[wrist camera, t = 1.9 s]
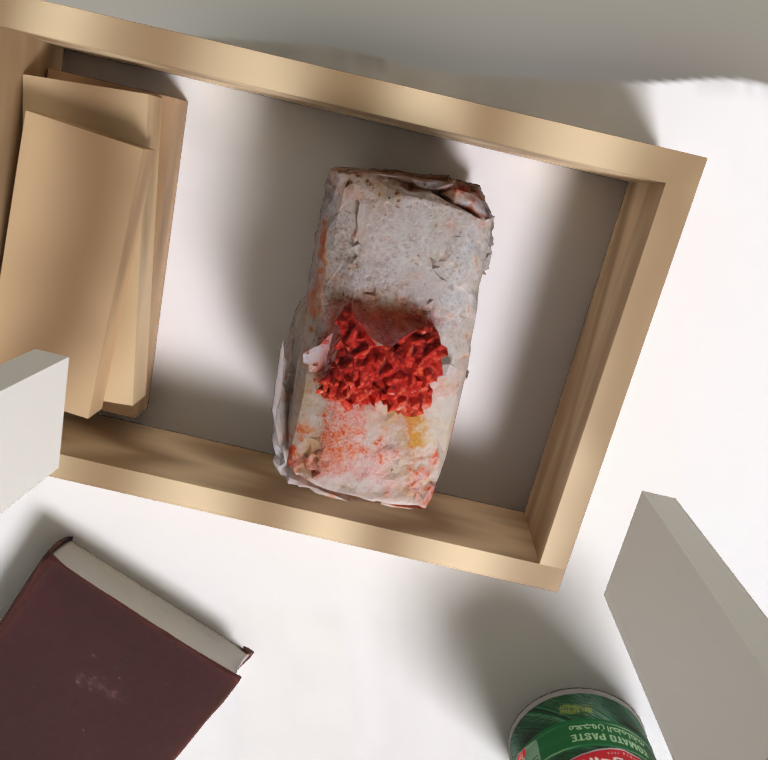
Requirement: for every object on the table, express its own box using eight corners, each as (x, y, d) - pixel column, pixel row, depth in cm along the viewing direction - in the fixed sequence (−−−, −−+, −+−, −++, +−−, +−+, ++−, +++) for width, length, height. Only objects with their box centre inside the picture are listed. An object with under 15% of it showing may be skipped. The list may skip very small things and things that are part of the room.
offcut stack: (36, 382, 36) (-19, 411, 31) (61, 72, 31) (2, 55, 27) (154, 409, 36) (116, 442, 31) (195, 103, 31) (158, 91, 27)
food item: (442, 455, 36) (449, 555, 26) (289, 430, 36) (241, 522, 26) (493, 182, 32) (523, 184, 22) (321, 155, 32) (279, 146, 22)
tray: (11, 416, 36) (-52, 452, 31) (39, 13, 31) (-32, -18, 26) (539, 537, 37) (557, 592, 32) (663, 160, 31) (707, 158, 26)
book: (-77, 744, 43) (-116, 788, 40) (70, 526, 38) (39, 557, 35) (95, 843, 45) (70, 893, 42) (257, 646, 40) (243, 686, 37)
